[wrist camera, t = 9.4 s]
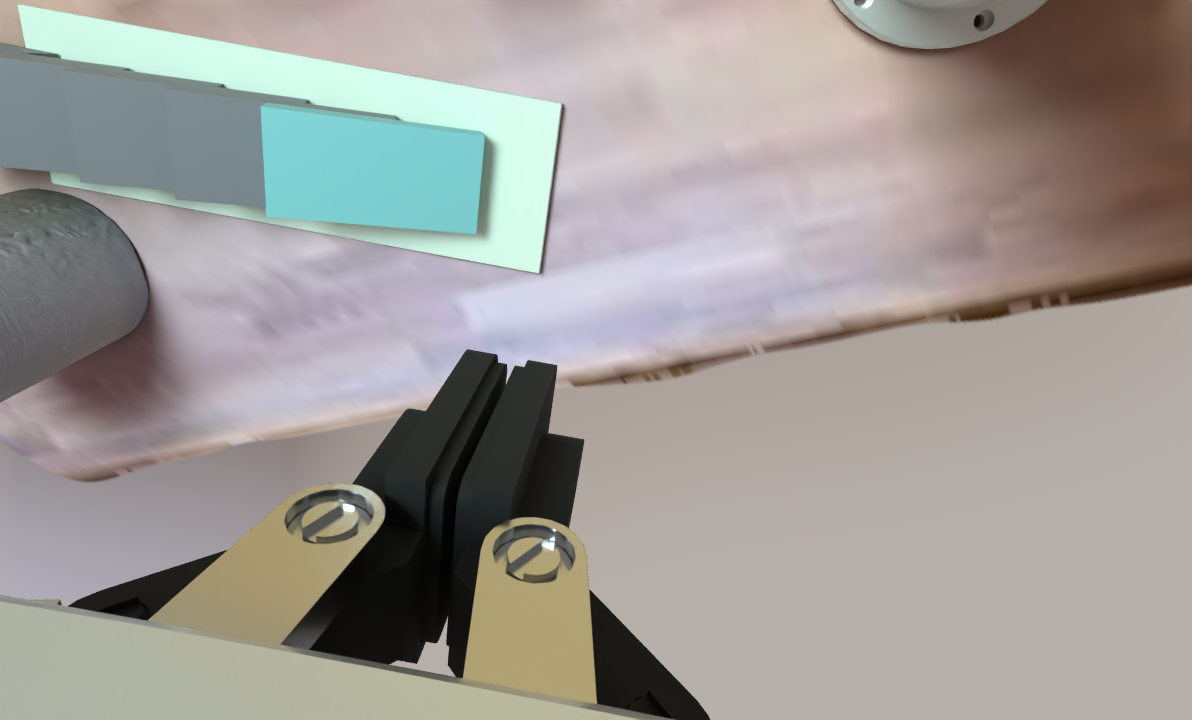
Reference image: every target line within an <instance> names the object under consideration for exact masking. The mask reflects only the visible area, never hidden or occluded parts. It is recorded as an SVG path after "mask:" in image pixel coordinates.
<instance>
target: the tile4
mask: <svg viewBox="0 0 1192 720" xmlns="http://www.w3.org/2000/svg"><path fill="white" fill-rule="evenodd" d="M70 68H82V69H89V70H97V71H104V72H111V73H118V74H126V75H133V76H140V77H148V78H155V79H162V80H169V81H177V82H184V83H191V84H199V85H206V86H213V87H220V88H223V84H221V83H213V82H206V81H199V80H192V79H184V78H177V77H170V76H163V75H156V74H148V73H141V72H134V71H127V70H119V69H112V68H105V67H98V66H90V65H83V64H76V63H69V62H62V61H54V60H47V59H40V58H33V57H25V56H18V55H11V54H4V53H0V167H6V168H17V169H27V170H38V171H49V172H60V173H71V174H79V171H78V165H77V159H76V154H75V148H74V142H73V136H72V130H71V125H70V119H69V113H68V107H67V102H66V96H65V90H64V84H63V78H62V73H61V70H65V69H70Z"/></svg>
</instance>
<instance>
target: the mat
mask: <svg viewBox="0 0 1192 720" xmlns="http://www.w3.org/2000/svg"><path fill="white" fill-rule="evenodd" d="M18 9H19V14H20V19H21V25H22V30H23V35H24V40H25V45H26V48H30V49H35V50H40V51H45V52H51V53H56V54H58V57H59V58H60V59H67V60H74V61H82V62H89V63H96V64H103V65H111V66H118V67H125V68H130V71H134V72H141V73H148V74H156V75H163V76H170V77H177V78H184V79H192V80H199V81H206V82H213V83H221V84H223V88H228V89H235V90H242V91H250V92H257V93H264V94H271V95H279V96H286V97H293V98H301V99H308V104H314V105H321V106H329V107H336V108H343V109H351V110H358V111H365V112H373V113H380V114H387V115H395V116H396V119H397V120H400V121H408V122H415V123H423V124H430V125H438V126H445V127H453V128H460V129H467V130H475V131H481V132H482V133H483V135H484V136H485V139H484V150H483V162H482V173H481V185H480V196H479V208H478V219H477V231H476V234H467V233H455V232H443V231H431V230H419V229H408V228H396V227H384V226H372V225H360V224H348V223H336V222H324V221H312V220H300V219H289V218H277V217H267V216H266V208H264V207H252V206H241V205H230V204H218V203H207V202H196V201H184V200H176V198H175V191H168V190H157V189H146V188H134V187H123V186H112V185H101V184H90V183H81V182H80V177H79V174H71V173H60V172H50V176H51V181H52V183H53V184H58V185H64V186H69V187H74V188H80V189H85V190H91V191H96V192H101V193H107V194H112V195H118V196H123V197H128V198H134V199H139V200H145V201H150V202H156V203H161V204H166V205H172V206H177V207H183V208H188V209H193V210H199V211H204V212H210V213H215V214H221V215H226V216H231V217H237V218H242V219H248V220H253V221H258V222H264V223H269V224H275V225H280V226H286V227H291V228H296V229H302V230H307V231H313V232H318V233H323V234H329V235H334V236H340V237H345V238H351V239H356V240H361V241H367V242H372V243H378V244H383V245H388V246H394V247H399V248H405V249H410V250H415V251H421V252H426V253H432V254H437V255H443V256H448V257H453V258H459V259H464V260H470V261H475V262H480V263H486V264H491V265H497V266H502V267H508V268H513V269H518V270H524V271H529V272H535V273H539V272H540V270H541V262H542V255H543V247H544V240H545V232H546V225H547V217H548V210H549V202H550V195H551V187H552V180H553V172H554V165H555V157H556V150H557V142H558V135H559V127H560V120H561V112H562V105H563V103H558V102H552V101H547V100H541V99H536V98H530V97H525V96H519V95H514V94H509V93H503V92H498V91H492V90H487V89H481V88H476V87H470V86H465V85H459V84H454V83H449V82H443V81H438V80H432V79H427V78H421V77H416V76H410V75H405V74H399V73H394V72H389V71H383V70H378V69H372V68H367V67H361V66H356V65H350V64H345V63H339V62H334V61H329V60H323V59H318V58H312V57H307V56H301V55H296V54H290V53H285V52H279V51H274V50H269V49H263V48H258V47H252V46H247V45H241V44H236V43H230V42H225V41H219V40H214V39H209V38H203V37H198V36H192V35H187V34H181V33H176V32H170V31H165V30H159V29H154V28H149V27H143V26H138V25H132V24H127V23H121V22H116V21H110V20H105V19H99V18H94V17H89V16H83V15H78V14H72V13H67V12H61V11H56V10H50V9H45V8H39V7H34V6H29V5H18Z"/></svg>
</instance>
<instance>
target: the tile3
mask: <svg viewBox="0 0 1192 720" xmlns="http://www.w3.org/2000/svg"><path fill="white" fill-rule="evenodd" d="M61 73H62V78H63V84H64V90H65V96H66V102H67V107H68V113H69V119H70V125H71V130H72V136H73V142H74V148H75V154H76V159H77V165H78V171H79V177H80V182H81V183H90V184H101V185H112V186H123V187H134V188H146V189H157V190H168V191H175V189H174V180H173V171H172V162H171V154H170V145H169V136H168V127H167V118H166V109H165V100H164V91H163V89H164V88H167V87H170V86H173V85H175V86H182V87H189V88H197V89H204V90H211V91H219V92H226V93H233V94H241V95H248V96H255V97H263V98H270V99H277V100H285V101H292V102H299V103H307V104H308V99H301V98H293V97H286V96H279V95H271V94H264V93H257V92H250V91H242V90H235V89H228V88H220V87H213V86H206V85H199V84H191V83H184V82H177V81H169V80H162V79H155V78H148V77H140V76H133V75H126V74H118V73H111V72H104V71H97V70H89V69H82V68H70V69H65V70H61Z"/></svg>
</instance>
